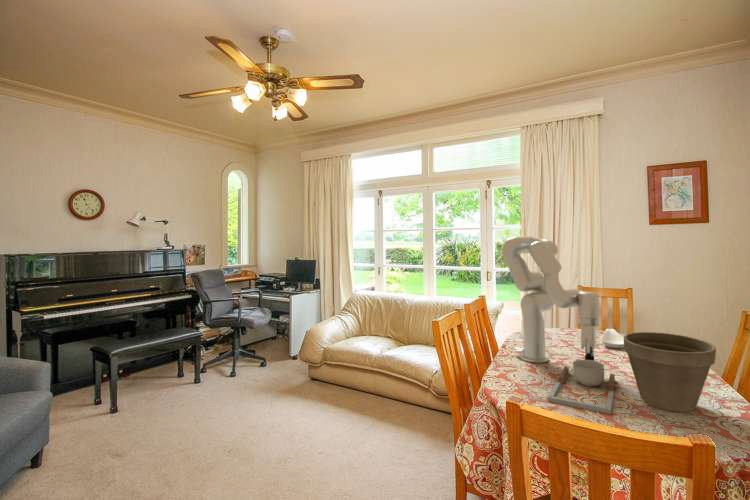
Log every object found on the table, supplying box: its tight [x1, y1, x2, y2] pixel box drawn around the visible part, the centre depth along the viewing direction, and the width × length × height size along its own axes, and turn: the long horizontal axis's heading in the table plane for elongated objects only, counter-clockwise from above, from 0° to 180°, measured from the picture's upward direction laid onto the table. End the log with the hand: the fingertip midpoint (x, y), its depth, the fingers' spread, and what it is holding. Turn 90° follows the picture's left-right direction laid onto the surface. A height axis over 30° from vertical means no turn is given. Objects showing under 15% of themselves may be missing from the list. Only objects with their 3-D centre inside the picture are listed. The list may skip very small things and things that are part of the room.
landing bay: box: [547, 381, 615, 415], centre depth 133 cm, size 19×17×2 cm
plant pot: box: [623, 331, 717, 413], centre depth 127 cm, size 25×25×22 cm
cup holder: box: [558, 366, 616, 393], centre depth 148 cm, size 18×15×2 cm
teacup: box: [572, 358, 605, 387], centre depth 148 cm, size 14×11×8 cm
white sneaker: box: [600, 328, 624, 349], centre depth 200 cm, size 24×12×7 cm, turn 157°
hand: (589, 364), depth 156 cm, fingers closed
